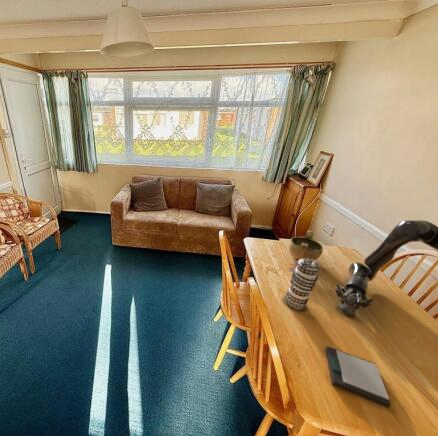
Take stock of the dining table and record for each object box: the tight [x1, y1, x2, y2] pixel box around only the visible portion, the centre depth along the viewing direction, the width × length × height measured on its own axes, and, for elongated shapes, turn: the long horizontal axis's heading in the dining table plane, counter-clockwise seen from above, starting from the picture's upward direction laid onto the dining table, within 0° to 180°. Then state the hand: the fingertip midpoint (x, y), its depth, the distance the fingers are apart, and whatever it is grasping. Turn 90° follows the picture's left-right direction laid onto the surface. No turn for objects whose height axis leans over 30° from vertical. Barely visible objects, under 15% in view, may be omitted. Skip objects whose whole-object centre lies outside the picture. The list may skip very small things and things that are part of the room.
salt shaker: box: [338, 293, 358, 316], centre depth 100 cm, size 6×6×12 cm
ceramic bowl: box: [288, 230, 324, 261], centre depth 138 cm, size 22×17×15 cm
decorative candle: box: [284, 258, 321, 311], centre depth 102 cm, size 9×9×25 cm
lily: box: [287, 258, 298, 273], centre depth 125 cm, size 12×12×10 cm
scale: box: [324, 346, 392, 409], centre depth 77 cm, size 14×14×4 cm
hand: (349, 305), depth 98 cm, fingers closed on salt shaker, 3 cm apart
